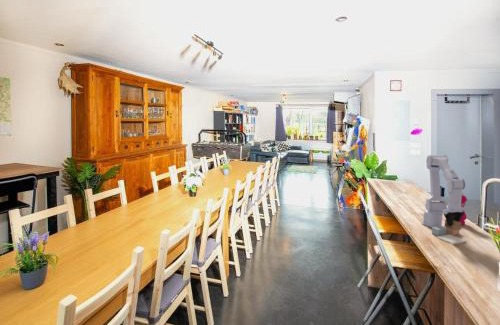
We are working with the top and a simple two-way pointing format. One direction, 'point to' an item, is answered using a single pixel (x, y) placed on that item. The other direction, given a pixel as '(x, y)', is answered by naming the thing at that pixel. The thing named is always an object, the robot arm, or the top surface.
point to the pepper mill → (463, 211)
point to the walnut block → (454, 225)
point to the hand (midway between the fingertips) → (452, 225)
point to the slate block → (439, 231)
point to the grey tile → (451, 239)
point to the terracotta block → (452, 231)
